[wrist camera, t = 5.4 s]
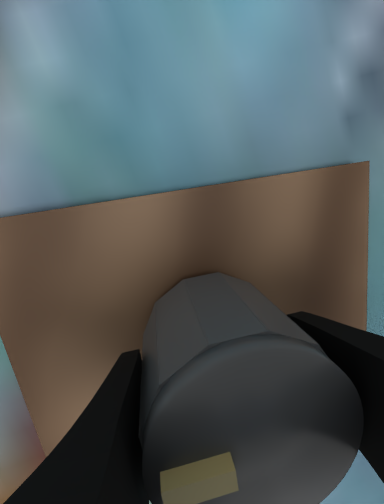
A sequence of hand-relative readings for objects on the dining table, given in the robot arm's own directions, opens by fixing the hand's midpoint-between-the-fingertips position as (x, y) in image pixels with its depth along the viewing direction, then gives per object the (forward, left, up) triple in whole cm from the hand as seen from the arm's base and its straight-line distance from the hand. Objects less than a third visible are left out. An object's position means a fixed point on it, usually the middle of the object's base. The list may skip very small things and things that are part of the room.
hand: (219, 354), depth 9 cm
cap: (0, 0, -2) cm, 2 cm away
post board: (0, 0, -3) cm, 3 cm away
